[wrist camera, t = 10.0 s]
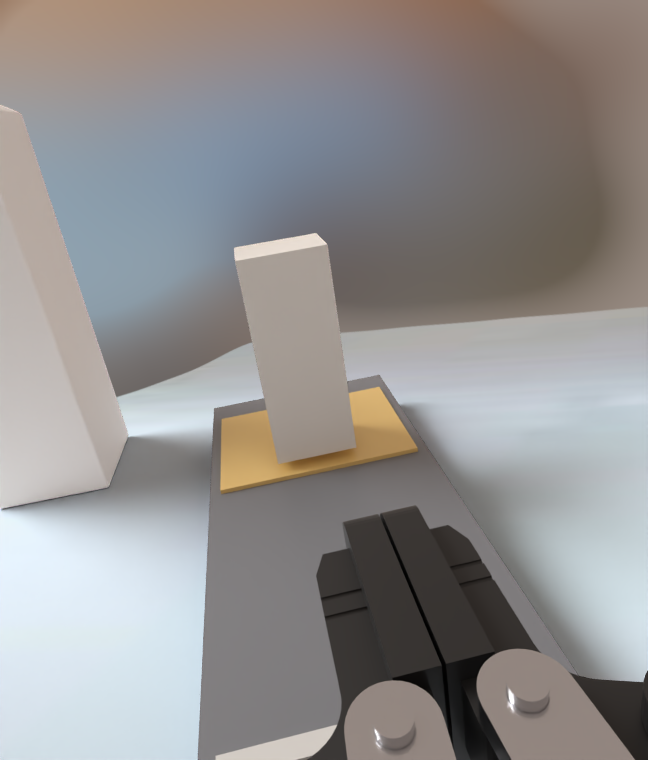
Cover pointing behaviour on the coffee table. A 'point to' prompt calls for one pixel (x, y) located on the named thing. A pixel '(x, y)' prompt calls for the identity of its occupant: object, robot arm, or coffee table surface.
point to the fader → (297, 345)
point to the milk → (46, 347)
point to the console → (306, 569)
